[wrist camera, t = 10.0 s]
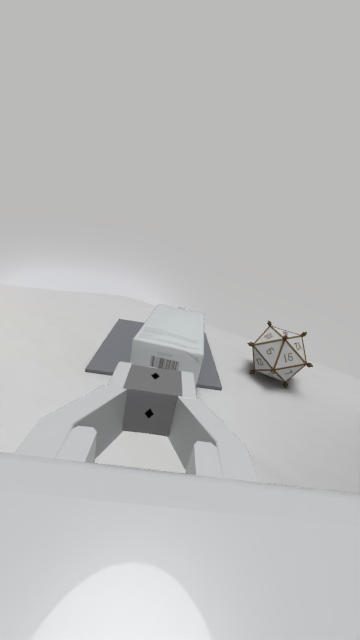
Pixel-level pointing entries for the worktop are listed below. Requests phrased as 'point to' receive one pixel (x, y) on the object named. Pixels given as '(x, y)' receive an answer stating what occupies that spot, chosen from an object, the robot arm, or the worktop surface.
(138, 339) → the skincare box
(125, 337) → the mat
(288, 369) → the game die
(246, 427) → the worktop surface
